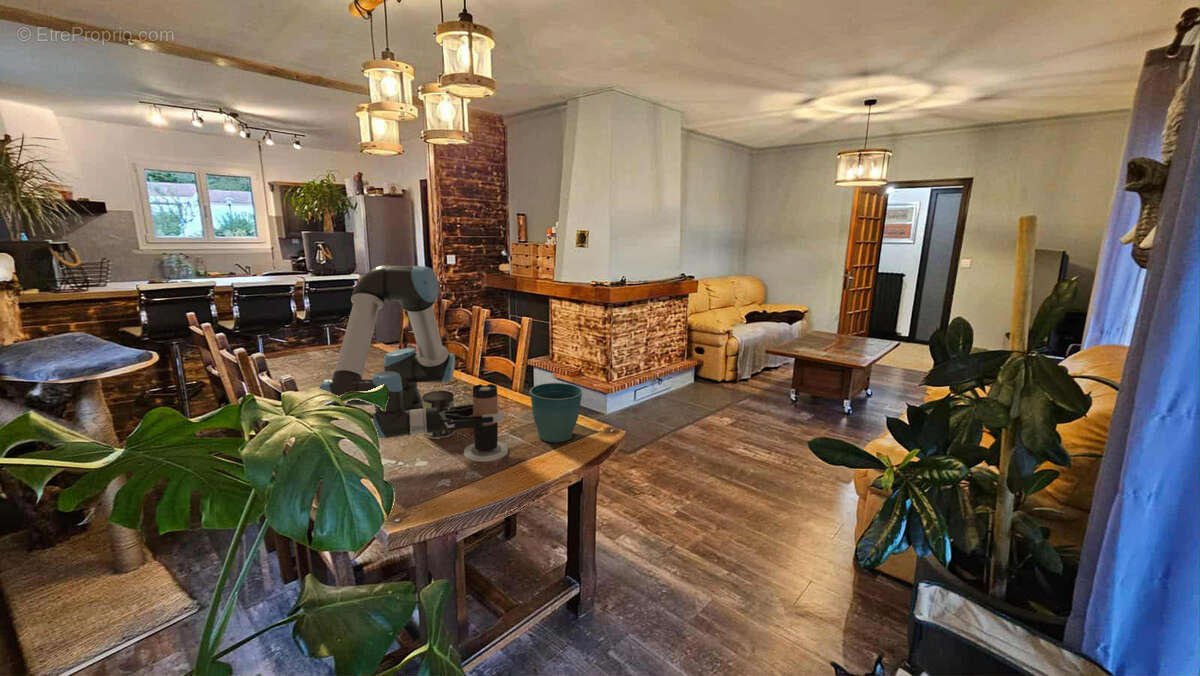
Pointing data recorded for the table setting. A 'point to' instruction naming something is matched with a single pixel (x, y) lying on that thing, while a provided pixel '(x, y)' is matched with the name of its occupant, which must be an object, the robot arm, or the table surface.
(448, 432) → the coffee can
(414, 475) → the table surface
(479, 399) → the travel mug
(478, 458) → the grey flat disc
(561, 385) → the flower pot
